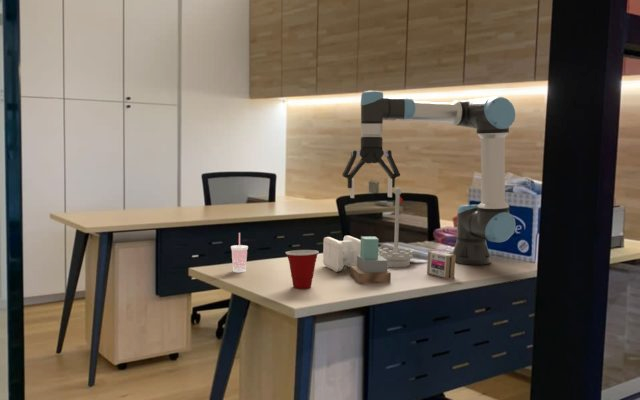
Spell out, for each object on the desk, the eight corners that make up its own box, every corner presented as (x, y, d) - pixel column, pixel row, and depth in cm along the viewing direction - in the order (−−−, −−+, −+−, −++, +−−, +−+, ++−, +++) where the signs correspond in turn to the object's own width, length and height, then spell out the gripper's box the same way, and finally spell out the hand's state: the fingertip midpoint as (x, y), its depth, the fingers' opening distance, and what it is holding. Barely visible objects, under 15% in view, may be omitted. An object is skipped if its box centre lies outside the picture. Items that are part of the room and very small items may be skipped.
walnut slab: (379, 276, 220) (379, 265, 220) (390, 284, 208) (390, 272, 207) (349, 276, 218) (350, 265, 218) (359, 285, 206) (359, 273, 205)
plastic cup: (305, 281, 208) (305, 246, 206) (324, 288, 199) (325, 251, 198) (278, 285, 201) (278, 249, 200) (297, 292, 192) (298, 255, 191)
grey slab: (378, 266, 218) (379, 255, 218) (387, 272, 209) (387, 260, 208) (356, 266, 217) (357, 255, 216) (364, 272, 207) (365, 261, 207)
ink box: (426, 274, 223) (427, 251, 222) (433, 272, 225) (434, 250, 224) (447, 279, 215) (448, 255, 214) (455, 278, 217) (456, 254, 216)
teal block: (374, 256, 215) (374, 236, 214) (377, 259, 210) (378, 239, 209) (360, 256, 214) (360, 236, 214) (363, 259, 209) (364, 239, 209)
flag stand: (404, 268, 231) (406, 189, 228) (373, 264, 238) (375, 187, 235) (417, 263, 242) (420, 187, 239) (387, 259, 249) (389, 185, 246)
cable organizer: (363, 272, 224) (364, 240, 223) (336, 274, 220) (337, 242, 219) (346, 264, 238) (347, 234, 237) (321, 265, 234) (321, 235, 233)
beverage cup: (250, 271, 221) (250, 233, 220) (234, 273, 218) (234, 234, 217) (243, 268, 226) (243, 231, 225) (228, 270, 223) (228, 232, 222)
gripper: (402, 136, 218) (401, 195, 220) (334, 136, 213) (333, 197, 215) (409, 136, 211) (408, 197, 213) (338, 136, 206) (338, 199, 208)
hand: (371, 197), depth 214 cm, fingers open, 13 cm apart
